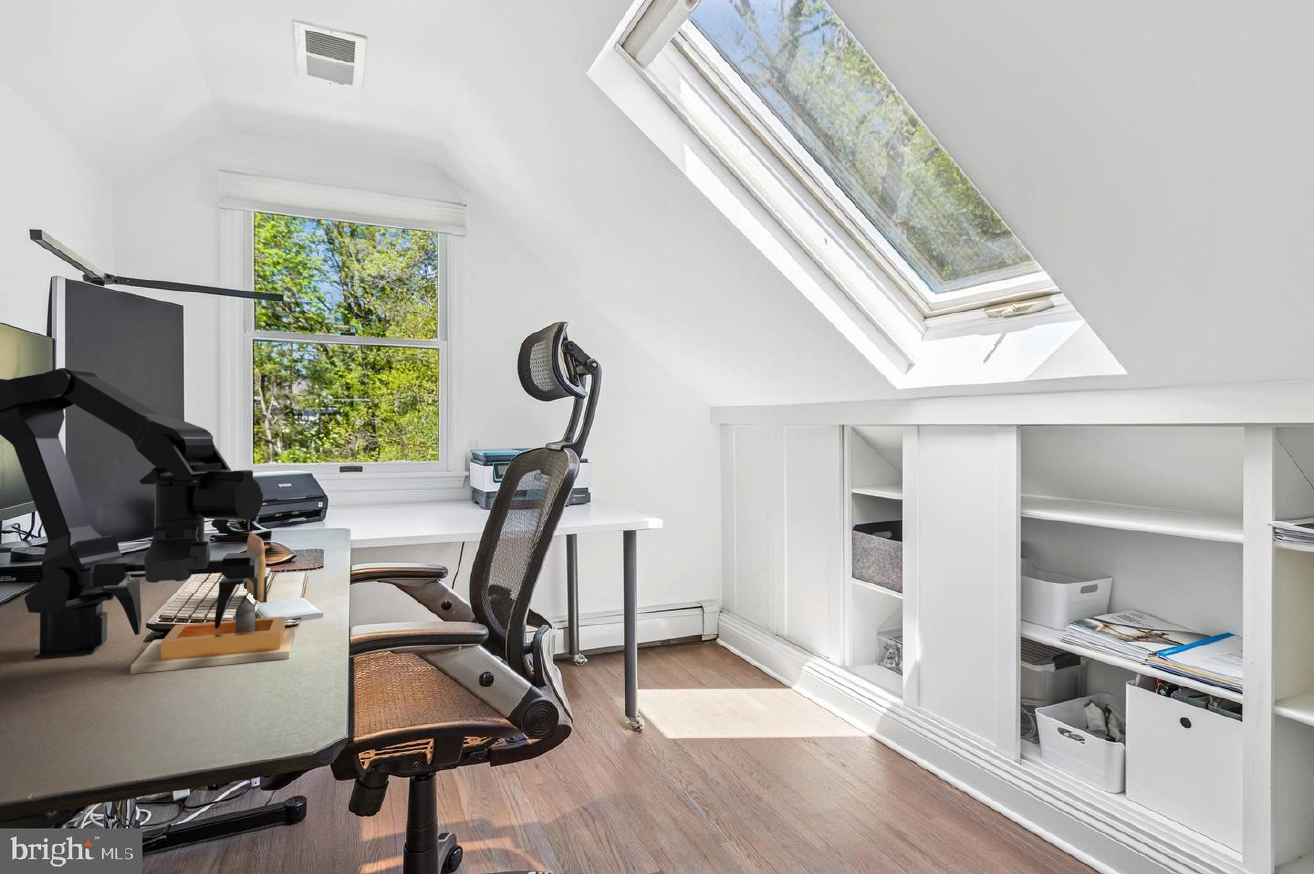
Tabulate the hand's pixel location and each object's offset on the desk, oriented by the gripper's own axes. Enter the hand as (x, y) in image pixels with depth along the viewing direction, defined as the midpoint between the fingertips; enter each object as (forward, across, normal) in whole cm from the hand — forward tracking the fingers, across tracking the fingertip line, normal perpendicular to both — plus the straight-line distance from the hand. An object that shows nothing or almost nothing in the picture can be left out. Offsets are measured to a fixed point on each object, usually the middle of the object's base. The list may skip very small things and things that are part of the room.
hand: (178, 631), depth 98 cm
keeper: (+4, +5, 0) cm, 6 cm away
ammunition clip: (+4, +6, +32) cm, 33 cm away
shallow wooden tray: (+2, +6, 0) cm, 6 cm away
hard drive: (+4, +12, +20) cm, 24 cm away
